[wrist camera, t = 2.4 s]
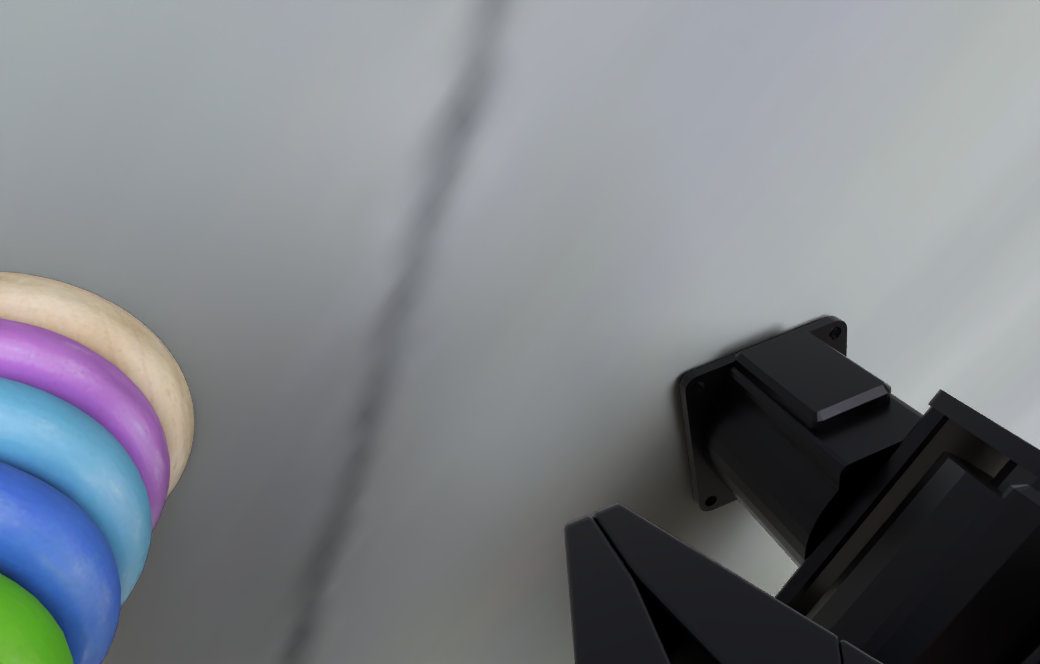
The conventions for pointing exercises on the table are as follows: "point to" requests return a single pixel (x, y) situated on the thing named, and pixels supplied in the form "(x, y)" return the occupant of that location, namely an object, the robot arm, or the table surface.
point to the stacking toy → (79, 464)
